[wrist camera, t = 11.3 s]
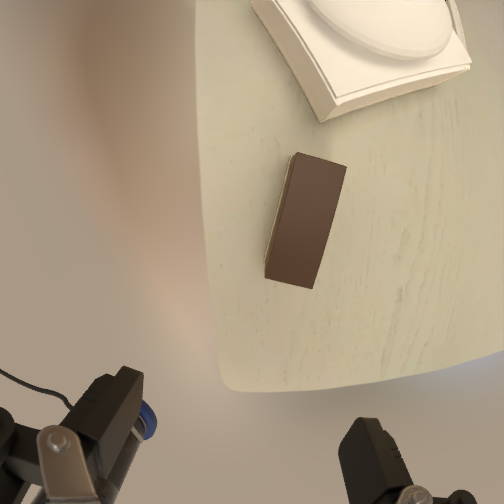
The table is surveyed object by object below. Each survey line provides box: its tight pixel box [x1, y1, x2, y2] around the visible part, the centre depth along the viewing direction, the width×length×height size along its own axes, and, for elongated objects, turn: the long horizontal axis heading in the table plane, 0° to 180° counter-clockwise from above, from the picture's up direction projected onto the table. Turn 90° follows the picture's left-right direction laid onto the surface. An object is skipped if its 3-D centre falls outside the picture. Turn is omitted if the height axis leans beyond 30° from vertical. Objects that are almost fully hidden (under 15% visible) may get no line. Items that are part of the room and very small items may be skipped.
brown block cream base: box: [263, 152, 347, 289], centre depth 29 cm, size 12×5×6 cm, turn 166°
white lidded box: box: [251, 0, 472, 123], centre depth 19 cm, size 18×18×16 cm
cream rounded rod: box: [446, 0, 467, 51], centre depth 23 cm, size 2×14×2 cm, turn 176°
